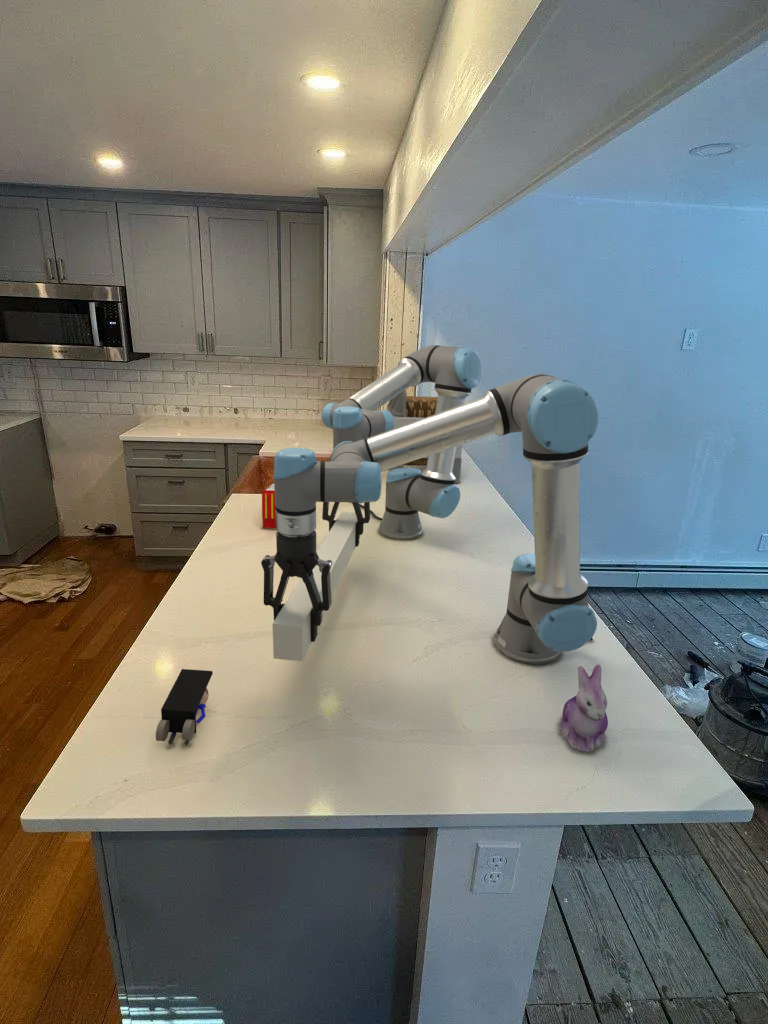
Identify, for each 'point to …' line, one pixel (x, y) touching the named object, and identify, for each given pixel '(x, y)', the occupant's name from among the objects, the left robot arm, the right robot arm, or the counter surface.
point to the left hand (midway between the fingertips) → (345, 543)
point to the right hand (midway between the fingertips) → (298, 636)
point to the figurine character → (184, 705)
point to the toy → (268, 507)
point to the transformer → (411, 411)
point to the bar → (295, 613)
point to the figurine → (586, 712)
